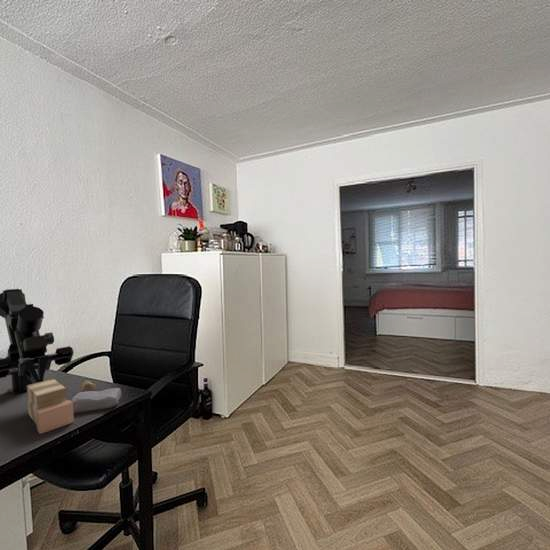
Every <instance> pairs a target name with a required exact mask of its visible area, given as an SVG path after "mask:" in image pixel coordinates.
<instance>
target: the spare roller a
mask: <svg viewBox="0 0 550 550" xmlns="http://www.w3.org/2000/svg"><path fill="white" fill-rule="evenodd" d="M80 389H81V390H82V391H83V392H84V391H85V392H87V391H97V389H98V387H97V385H96V384H95V383H93V382H92V381H89V380H85V381H83V382H82V383H81V385H80Z"/></svg>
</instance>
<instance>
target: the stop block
mask: <svg viewBox="0 0 550 550" xmlns="http://www.w3.org/2000/svg"><path fill="white" fill-rule="evenodd" d="M66 400H67V401H63V402H60V403H57V404H53V405H50V406H46V407H43V408H40V409H36V423H37V425H36V430H37V432H38V434H39V435H41V434H44V433H47V432H50V431H52V430H57V429H58V428H62V427H64V426H67V425H70V424H73V423H74V422H75V421H74V418H75V417H74V416H75V415H74V413H73V402H71V400H70V399H66Z"/></svg>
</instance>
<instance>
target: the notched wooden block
mask: <svg viewBox="0 0 550 550" xmlns="http://www.w3.org/2000/svg"><path fill="white" fill-rule="evenodd" d="M26 393H27V395H26V396H27V408H28V409H27V411H28V412H27V413H28V415H29V418H31V420H32V421H33V423H34V424H35V425H36V426H37V423H36V409H40V408H43V407H46V406H50V405H53V404H57V403H60V402H63V401H67V400H68V399H67V388H66V387H65V386H63V385H62V383H60V382H58V381H57V380H56V379H55V378H51V379H47V380H43V381H42V382H38V383H34V384H30V385H27V391H26Z"/></svg>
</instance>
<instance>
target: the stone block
mask: <svg viewBox="0 0 550 550" xmlns="http://www.w3.org/2000/svg"><path fill="white" fill-rule="evenodd" d="M121 398H122V390H121V388H119V387H113V388H111V387H110V388H106V389H104V390H100V391H99V390H96V391H87V392H85V391H84V390H83V391H80V392H78V393H77V394H75V396H73V397H72V398H71V400H70V401H71V402H73V414H76V413H84V412H89V411H90V412H91V411H97V410H104V409H111V408H113V407H118V405H119V401H120V400H121Z"/></svg>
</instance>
